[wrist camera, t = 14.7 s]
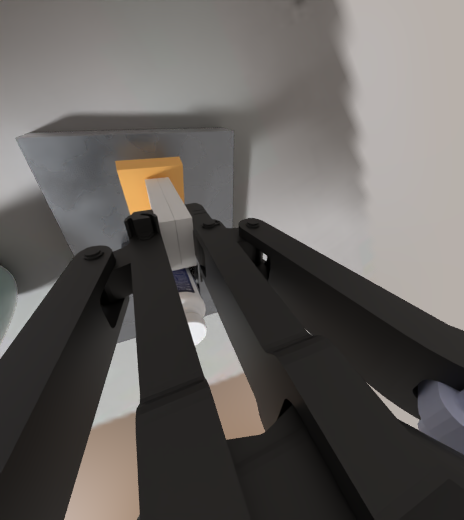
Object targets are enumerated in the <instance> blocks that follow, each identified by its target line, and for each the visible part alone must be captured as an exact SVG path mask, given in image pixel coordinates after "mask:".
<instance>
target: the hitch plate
mask: <svg viewBox="0 0 464 520" xmlns="http://www.w3.org/2000/svg"><path fill="white" fill-rule="evenodd" d="M15 139H16V141H17V143H18V145H19V147H20V149H21V151H22V153H23V155H24V157H25V159H26V161H27V163H28V165H29V167H30V169H31V171H32V173H33V175H34V177H35V179H36V181H37V183H38V185H39V187H40V189H41V191H42V193H43V195H44V197H45V199H46V201H47V203H48V205H49V207H50V209H51V211H52V213H53V215H54V217H55V219H56V221H57V223H58V225H59V227H60V229H61V231H62V233H63V235H64V237H65V239H66V241H67V243H68V245H69V247H70V249H71V251H72V253H73V255H74V256H75V255H76V254H77V253H79V252H80V251H82V250H84V249H85V248H88V247H91V246H98V245H103V246H108V247H110V248H111V249H112V251H116V250H119V249H121V248H123V247H125V246H126V245H128V244H129V237H128V234H127V230H126V227H125V224H124V220H125V218H127V217H128V216H130V212H129V209H128V205H127V202H126V199H125V196H124V193H123V189H122V186H121V183H120V180H119V176H118V173H117V169H116V163H115V161H121V160H136V159H151V158H165V157H180V160H181V162H182V164H183V182H184V204H190V203H198V204H200V205H202V206H203V207H204V209H205V210H206V211H207V213H208V214H209V216H210V217H211V218H212V219H216V220H219V221H220V222H222V223H223V225H224V226H225V227H226V228H232V227H233V160H234V131H233V130H229V129H225V128H222V127H221V128H183V129H145V130H108V131H70V132H32V133H27V134H24V135H22V136H19V137H16V138H15ZM196 260H197V258H196ZM193 273H194V280H195V282H196V284H197V287H198V289H199V291H200V294H201V296H202V298H203V301H204V304H205V308H206V311H205V316H207V315H210V314H213V313H216V312H217V309H216V307H215V305H214V302H213V300H212V298H211V296H210V293H209V291H208V289H207V287H206V284H205V282H204V280H203V282H201V281H200V270H199V262H198V260H197V266H193ZM129 296H130V297H129V303H128V307H127V310H126V314H125V317H124V320H123V324H122V327H121V330H120V334H119V337H118V340H117V343H120V342H123V341H126V340H130V339H133V338H136V329H135V315H134V301H133V294H131V295H129Z"/></svg>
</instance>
